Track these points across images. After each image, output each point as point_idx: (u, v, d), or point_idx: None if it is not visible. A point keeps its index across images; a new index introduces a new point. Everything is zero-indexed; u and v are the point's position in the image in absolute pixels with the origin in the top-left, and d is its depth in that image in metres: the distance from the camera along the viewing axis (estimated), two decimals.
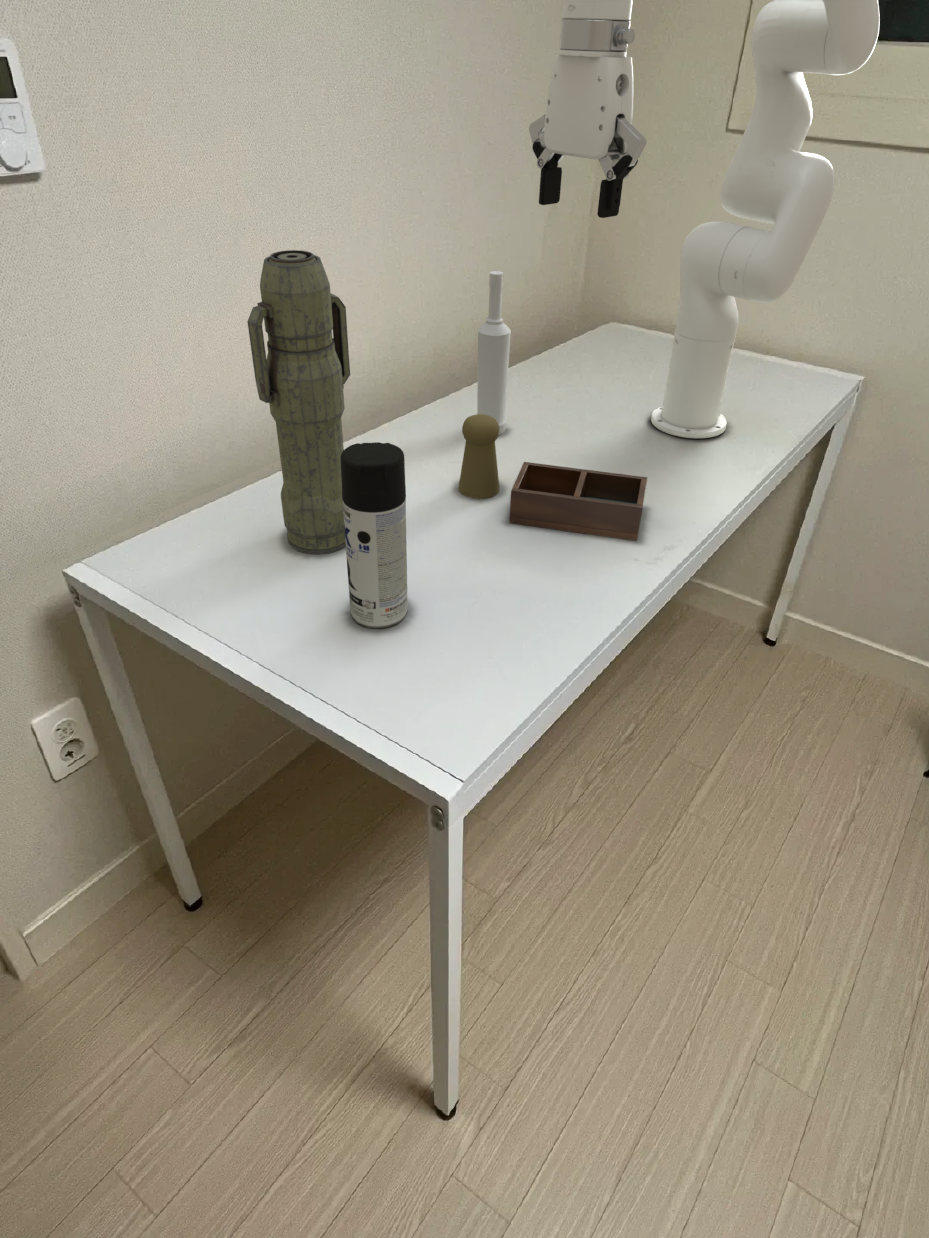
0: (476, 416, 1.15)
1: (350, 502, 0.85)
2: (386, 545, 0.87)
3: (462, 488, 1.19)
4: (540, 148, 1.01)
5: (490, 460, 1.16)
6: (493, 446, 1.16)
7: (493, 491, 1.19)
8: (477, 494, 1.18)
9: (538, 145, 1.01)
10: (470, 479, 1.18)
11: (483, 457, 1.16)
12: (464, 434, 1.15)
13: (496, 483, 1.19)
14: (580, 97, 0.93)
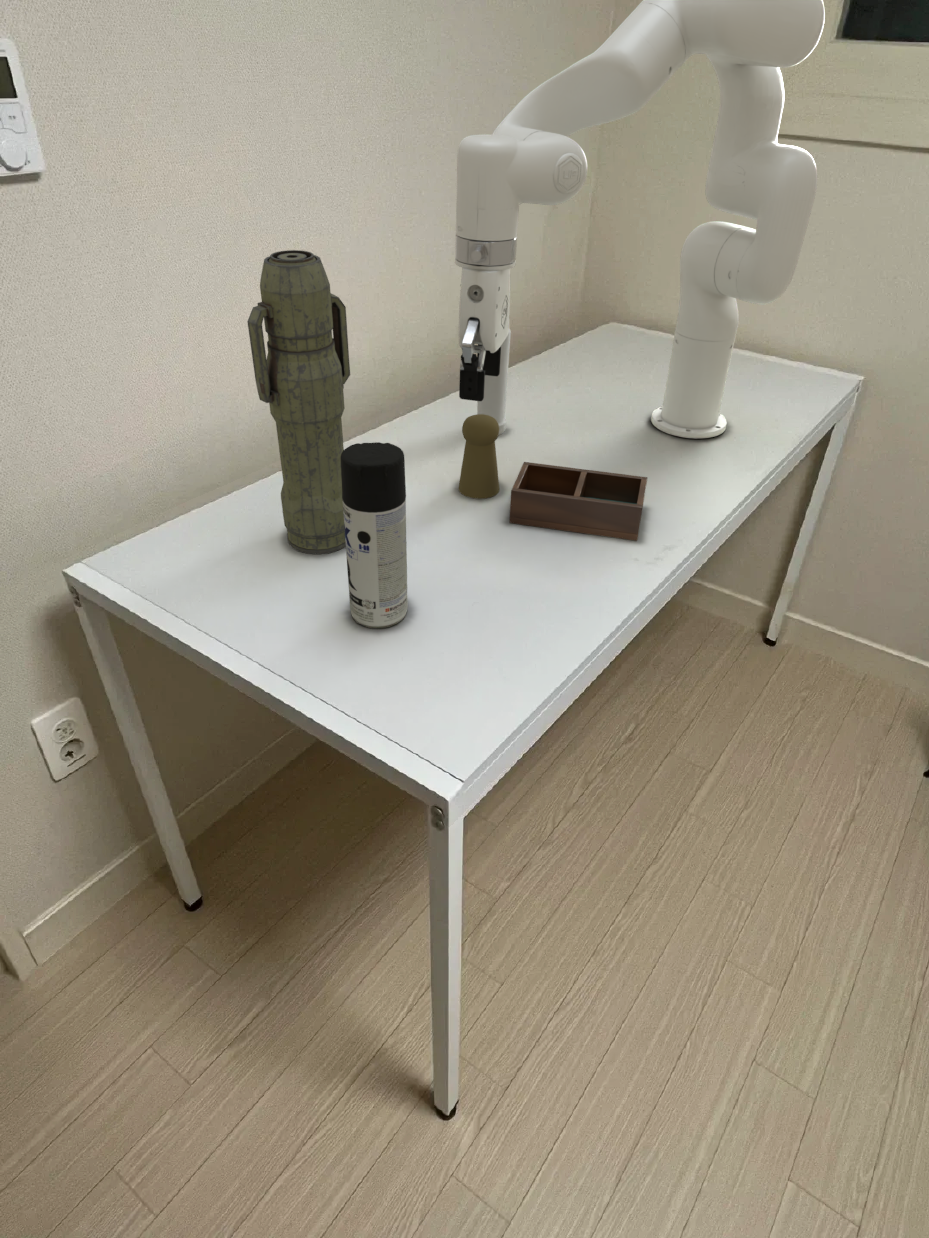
0: (476, 416, 1.15)
1: (350, 502, 0.85)
2: (386, 545, 0.87)
3: (462, 488, 1.19)
4: None
5: (490, 459, 1.16)
6: (493, 446, 1.16)
7: (493, 491, 1.19)
8: (477, 494, 1.18)
9: None
10: (470, 479, 1.18)
11: (483, 457, 1.16)
12: (464, 434, 1.15)
13: (496, 483, 1.19)
14: None
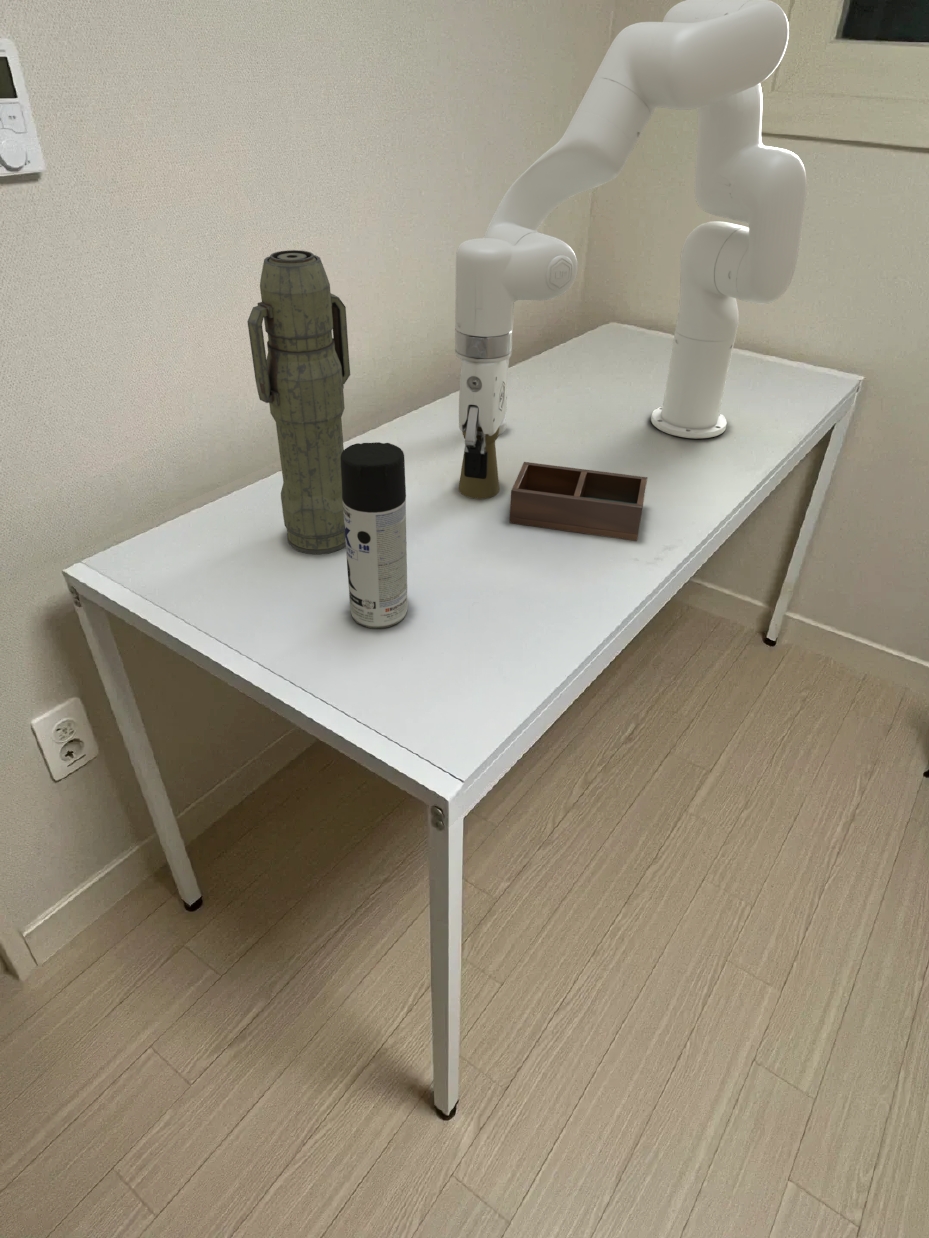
0: None
1: (350, 502, 0.85)
2: (386, 545, 0.87)
3: (462, 488, 1.19)
4: None
5: (490, 459, 1.16)
6: (493, 446, 1.16)
7: (493, 491, 1.19)
8: (477, 494, 1.18)
9: None
10: (470, 479, 1.18)
11: None
12: (464, 434, 1.15)
13: (496, 483, 1.19)
14: None
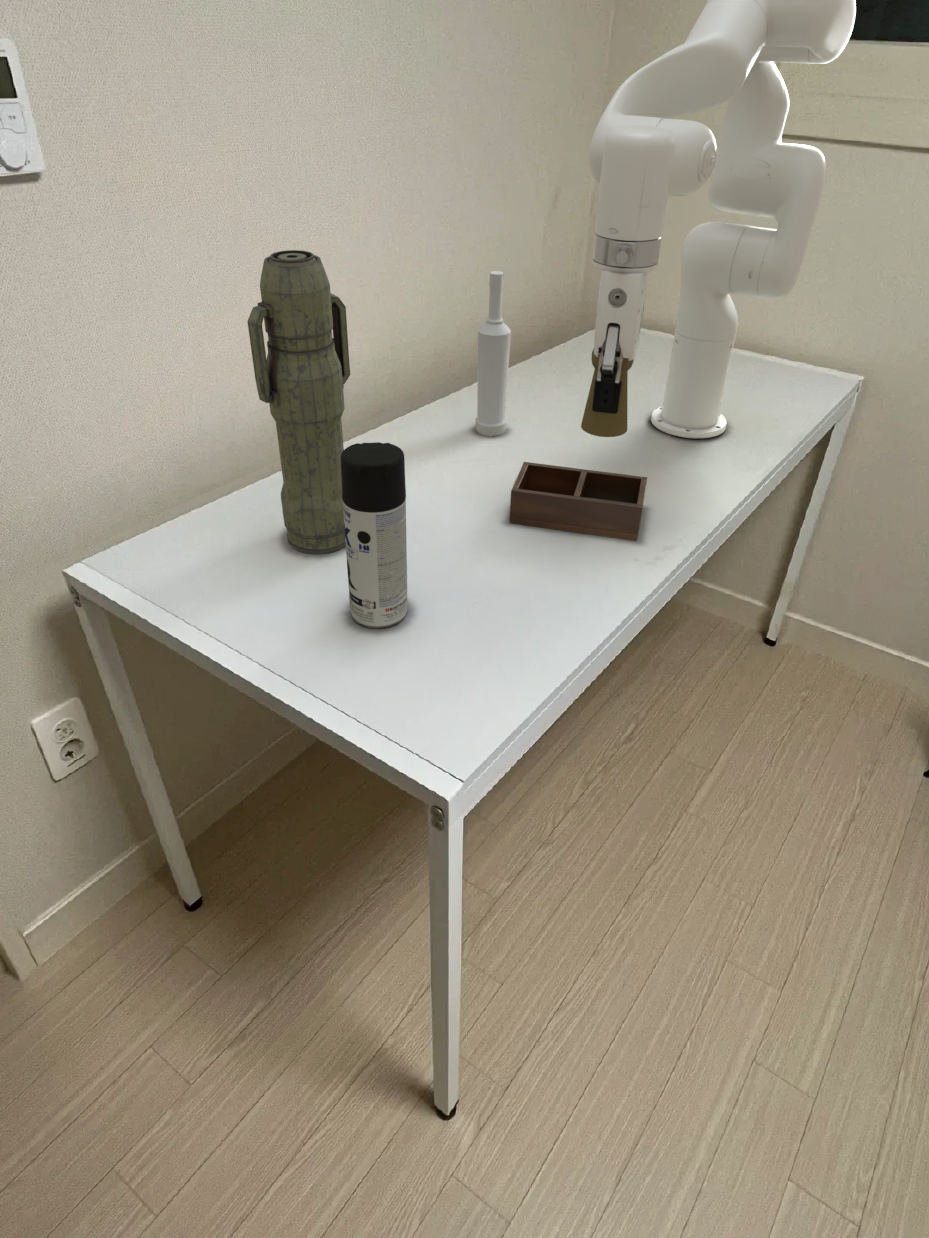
0: None
1: (350, 502, 0.85)
2: (386, 545, 0.87)
3: (588, 425, 1.05)
4: None
5: (622, 391, 1.03)
6: (626, 376, 1.02)
7: (622, 429, 1.05)
8: (605, 432, 1.05)
9: None
10: (598, 415, 1.04)
11: None
12: (595, 361, 1.01)
13: (626, 420, 1.05)
14: None
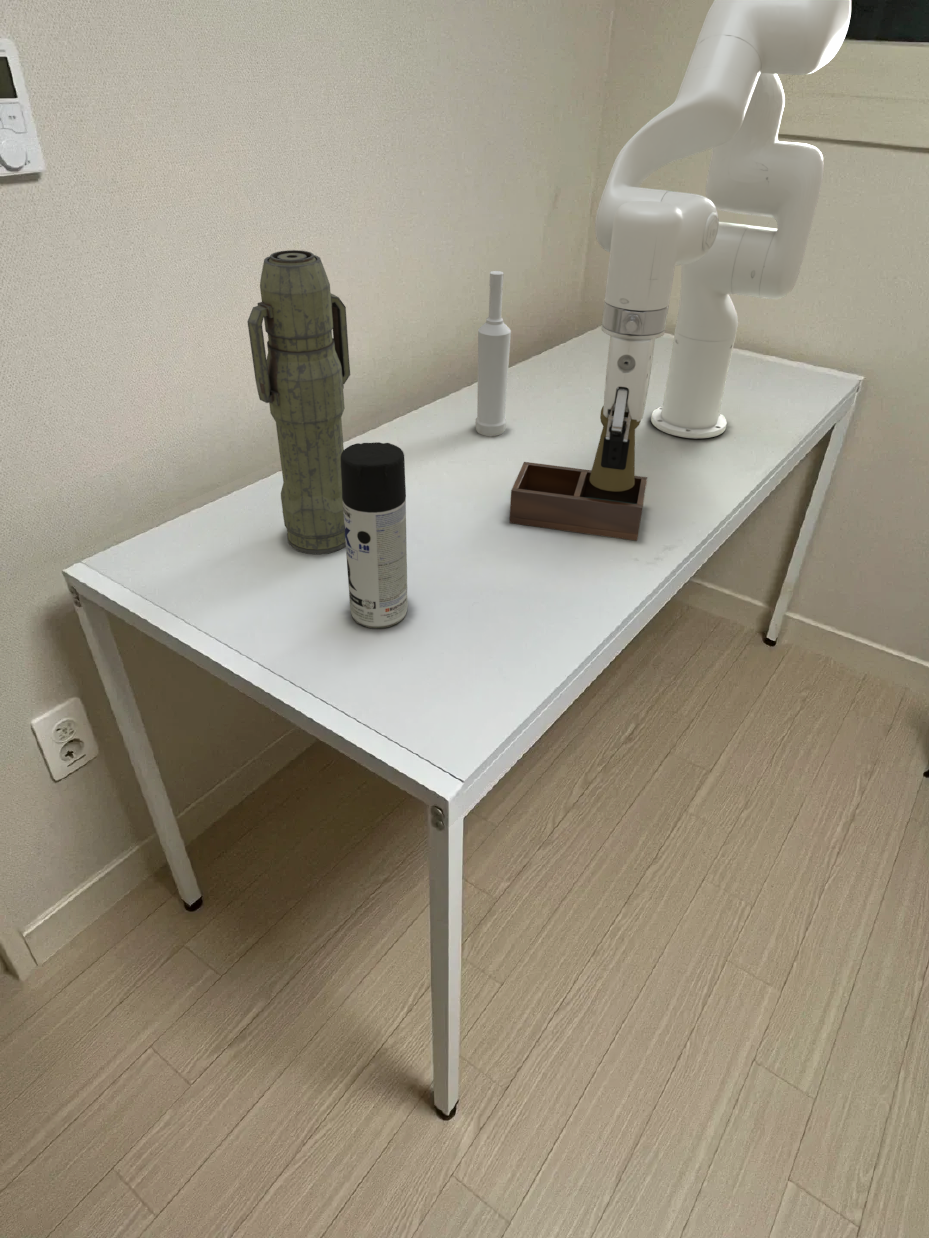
0: None
1: (350, 502, 0.85)
2: (386, 545, 0.87)
3: (596, 480, 1.09)
4: None
5: (630, 448, 1.06)
6: (634, 433, 1.06)
7: (630, 483, 1.09)
8: (613, 486, 1.08)
9: None
10: (606, 470, 1.07)
11: None
12: (604, 420, 1.04)
13: (633, 474, 1.09)
14: None
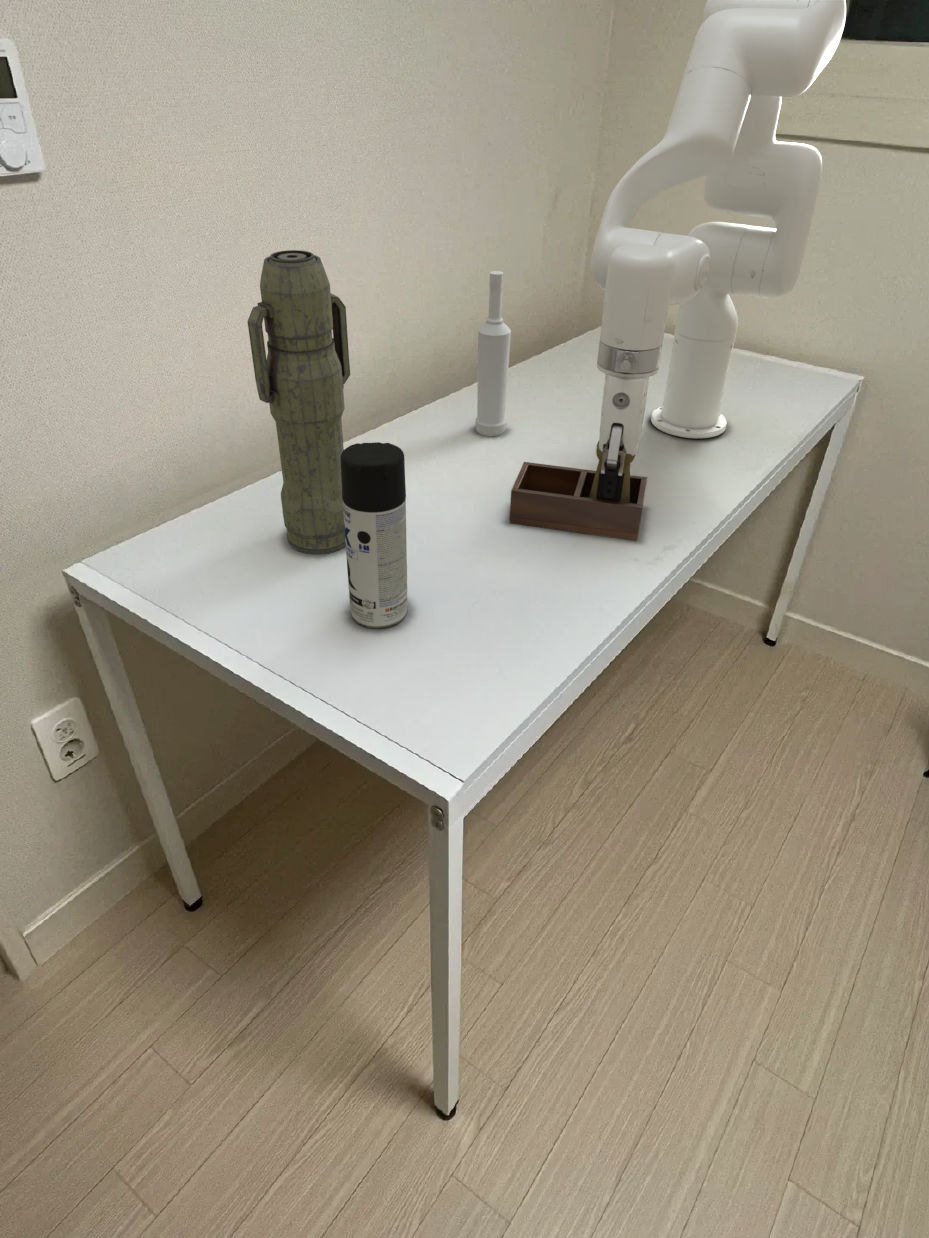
0: None
1: (350, 502, 0.85)
2: (386, 545, 0.87)
3: None
4: None
5: (625, 482, 1.09)
6: (629, 467, 1.09)
7: None
8: None
9: None
10: None
11: None
12: (599, 455, 1.07)
13: None
14: None
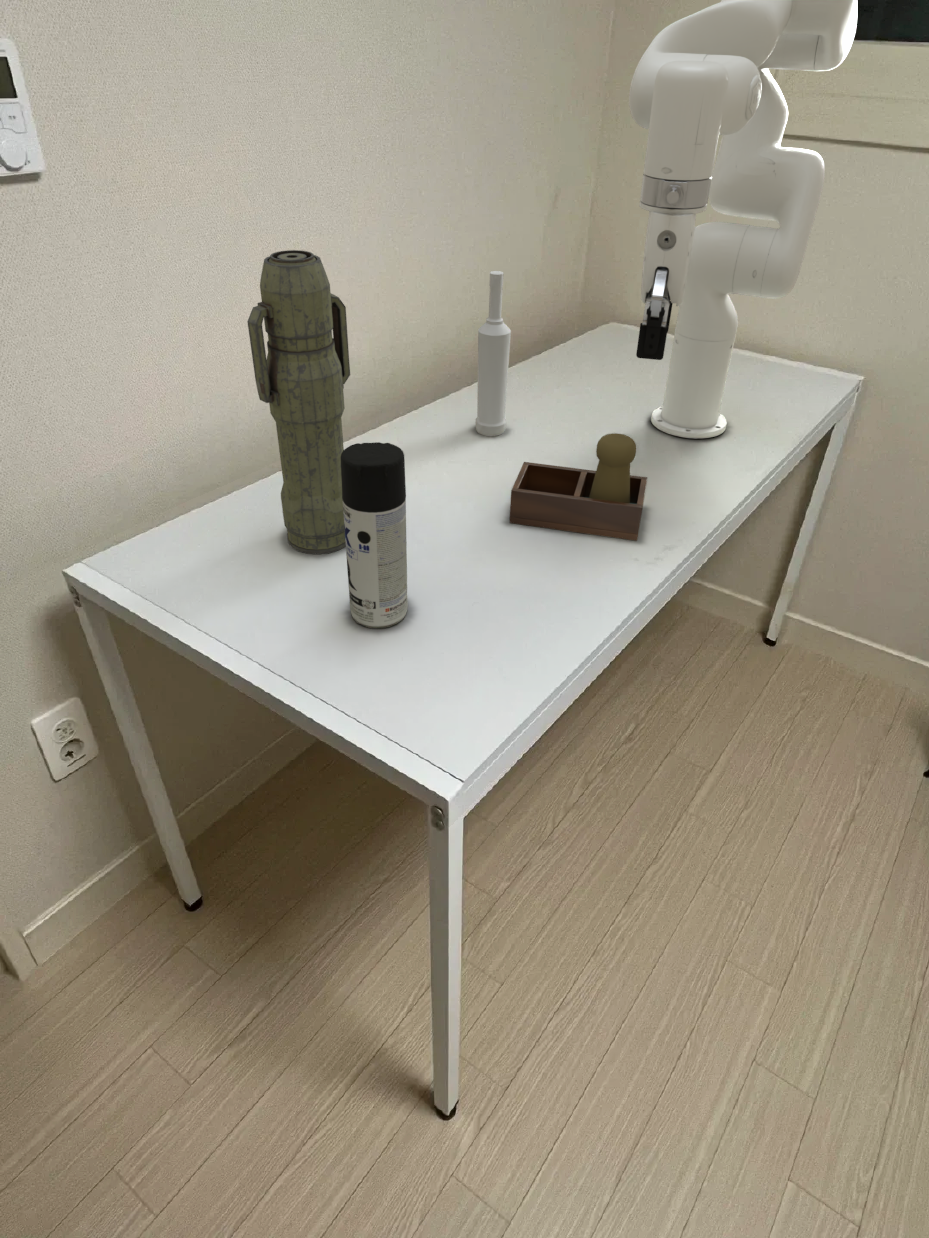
0: (612, 435, 1.08)
1: (350, 502, 0.85)
2: (386, 545, 0.87)
3: None
4: None
5: (625, 482, 1.09)
6: (629, 467, 1.09)
7: None
8: None
9: None
10: None
11: (619, 479, 1.08)
12: (599, 455, 1.07)
13: None
14: None
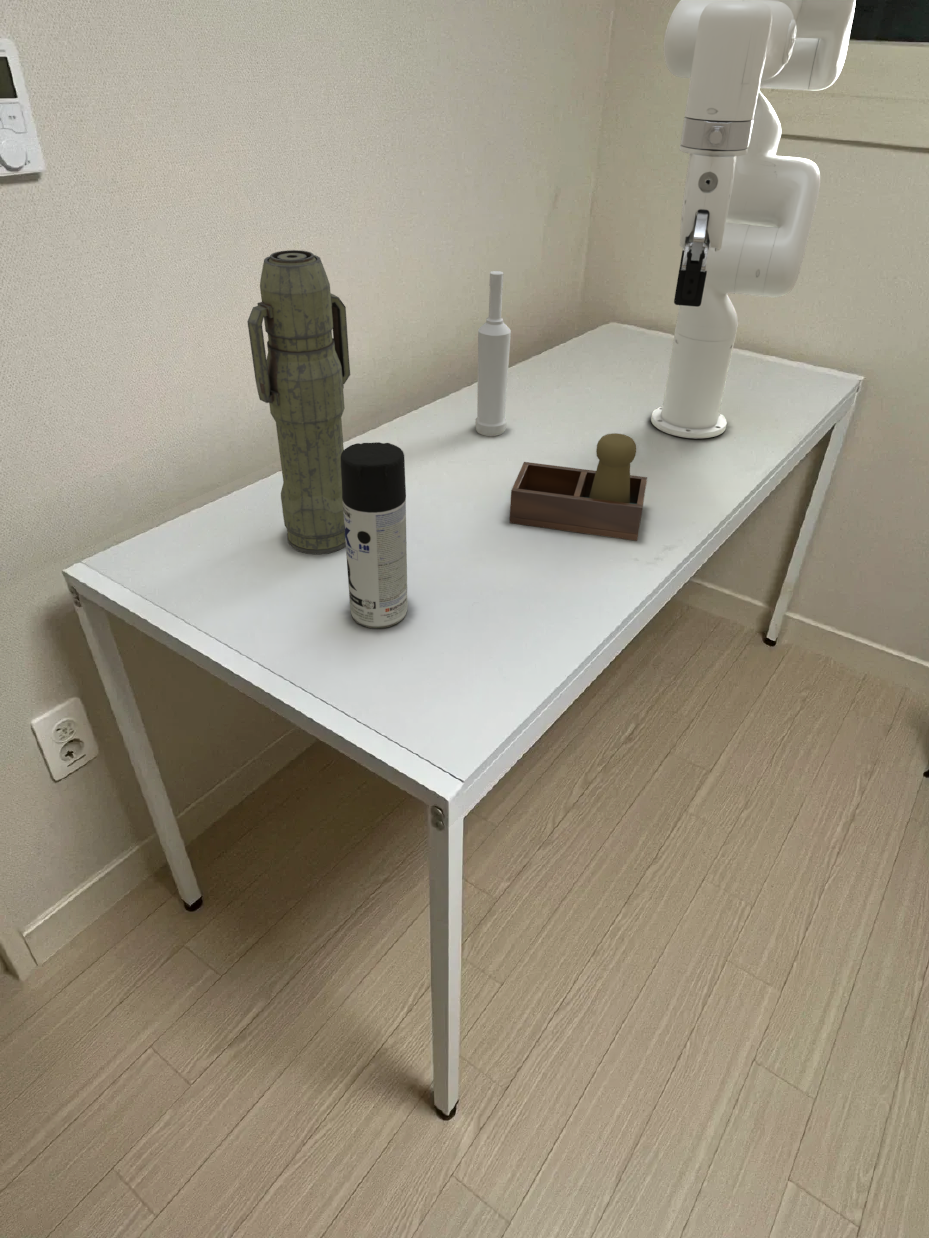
0: (612, 435, 1.08)
1: (350, 502, 0.85)
2: (386, 545, 0.87)
3: None
4: None
5: (625, 482, 1.09)
6: (629, 467, 1.09)
7: None
8: None
9: None
10: None
11: (619, 479, 1.08)
12: (599, 455, 1.07)
13: None
14: (684, 189, 0.96)
